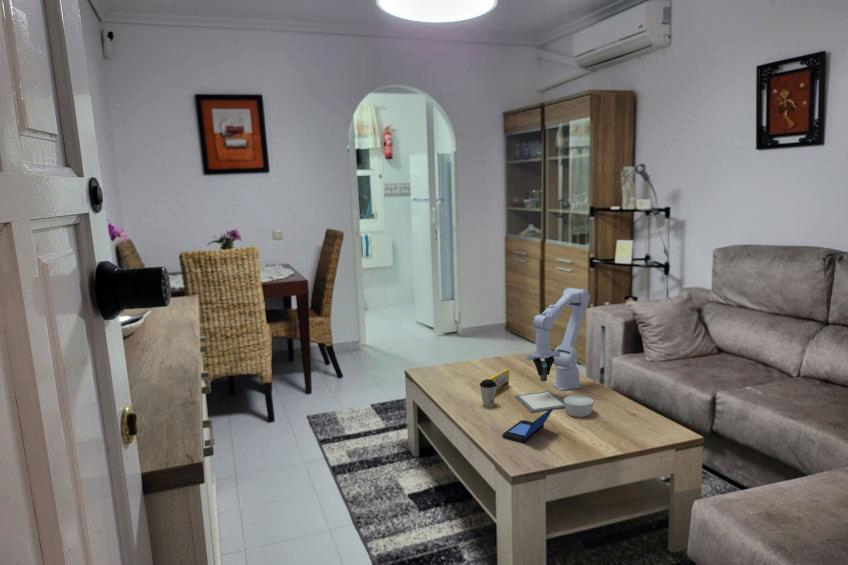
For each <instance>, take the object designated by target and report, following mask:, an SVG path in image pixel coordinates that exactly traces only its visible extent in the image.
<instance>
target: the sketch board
mask: <svg viewBox="0 0 848 565" xmlns="http://www.w3.org/2000/svg"><path fill="white" fill-rule="evenodd" d="M514 398H515V399H516V400H517V401H518V402H519V403H521V404H522V405H523V406H524V407H525V408H526V409H527V410H528V411H529V412H530V413H532V414H533V413H542V412H547V411H548V410H550V409H551V408H553V410H552V411H554V410H555V411H556V410H562V409H565V404H564V400H562V399H561V398H559V397H558V396H557V395H555V394H554V393H553V392H552V391H550V390H547V391H541V392H533V393H525V394H519V395H514Z"/></svg>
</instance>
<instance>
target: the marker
mask: <svg viewBox="0 0 848 565" xmlns="http://www.w3.org/2000/svg"><path fill="white" fill-rule="evenodd" d="M541 361H542V376H539V380H540V381H541V382H547V381H548V375H547V361H545V360H541Z"/></svg>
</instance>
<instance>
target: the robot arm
mask: <svg viewBox="0 0 848 565" xmlns="http://www.w3.org/2000/svg"><path fill="white" fill-rule="evenodd" d="M590 298H591V297H590V293H589V290H588V289H585V288H584V289H582V288H576V287H566V288H565V289H564V290H563V292H562V296H561V297H560V298H559V299H558V301H557V302H556V303H555V304H549V306H548V307H547V308H546V309H545V310H544V311H543V312H542V313H540V314H537V315H535V316H534V317H533V320H532V327H533V328H534V329H533V330H534V332H535V344H536V345H535V348H536V349H535V351H536V352H533V353H530V354H526V355H525V356H526V358H525V360H527V361H531V360H532V361H533V363H534V366H535V368H536V370H537V375H538V376H539V377H540V376H542V361H543V360H544V361H547V376H549V375H550V372H551V369H552V366H553V365H554V367H555V373H556V374H555V375H556V376H555V377H556V378H555V379H556V382H555V383H552V385H553V386H554V387H555V388H557V390H559V391H565V390H574V389H580V388H581V387H580V371H579V368H578V367H577V364H578V355H579V353H578V350H577V349H576V348H575V345H576V341H577V338H578V336H579V332H580V329H581V327H582V326H581V325H582V322H583V319H584V315H585V312H586V310H587V309H588V305H589V302H590ZM567 306H568V308H570V309H571V314H570V316H569V320H568V323H567V326H566V330H565V333H564V336H563V339H562V343H561V344H559V345H557V346H556V347H555V350H554V351H551V332H550V331H551V329H552V328H553V325H554V323H555V321H556V320H557V319H558V318H559V317H560V316H561V313H562V310H563V309H565V308H566V307H567ZM541 359H543V360H541Z"/></svg>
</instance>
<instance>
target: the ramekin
mask: <svg viewBox="0 0 848 565" xmlns="http://www.w3.org/2000/svg"><path fill="white" fill-rule="evenodd" d="M563 402H564V404H565V408H564V409H565V412H566V413H567V414H568V415H569V416H571V417H575V418H585V417H588V416H590V415H591V414H592V411H593V405H594V399H593V398H591V397H588V396H585V395H577V394H576V395H575V394H573V395H568V396H566V397H564V399H563Z"/></svg>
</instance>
